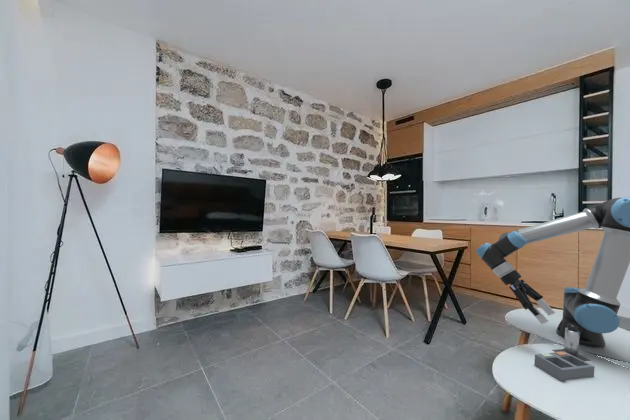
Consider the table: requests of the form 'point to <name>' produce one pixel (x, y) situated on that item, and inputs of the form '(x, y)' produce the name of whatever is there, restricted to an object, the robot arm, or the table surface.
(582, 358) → the plug mat
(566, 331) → the plug
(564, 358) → the socket block
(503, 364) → the table surface
